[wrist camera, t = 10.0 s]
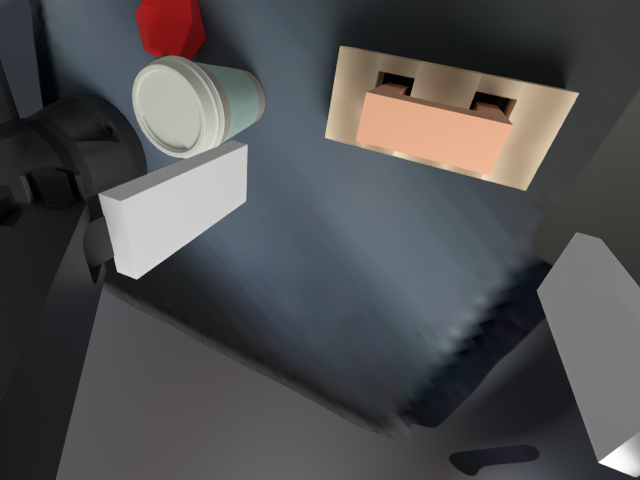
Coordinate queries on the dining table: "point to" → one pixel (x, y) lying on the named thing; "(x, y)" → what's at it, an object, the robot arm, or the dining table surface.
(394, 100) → the clip
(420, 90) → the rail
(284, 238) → the dining table surface
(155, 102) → the coffee cup
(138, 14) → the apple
